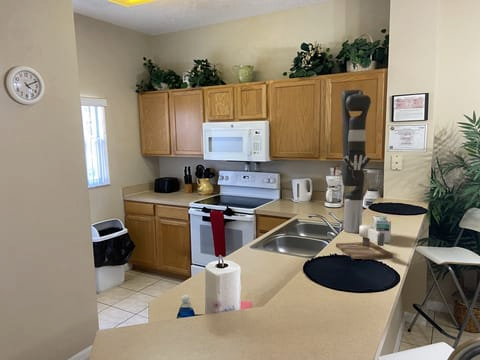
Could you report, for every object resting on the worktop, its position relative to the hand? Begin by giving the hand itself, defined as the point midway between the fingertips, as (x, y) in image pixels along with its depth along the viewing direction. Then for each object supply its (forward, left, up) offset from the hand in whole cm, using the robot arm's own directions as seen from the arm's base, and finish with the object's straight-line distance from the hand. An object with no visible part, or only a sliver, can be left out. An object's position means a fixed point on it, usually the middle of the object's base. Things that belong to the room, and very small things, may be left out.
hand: (355, 178), depth 159 cm
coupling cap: (+13, +2, -25) cm, 29 cm away
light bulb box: (-4, +16, -31) cm, 35 cm away
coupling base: (+12, -2, -31) cm, 33 cm away
